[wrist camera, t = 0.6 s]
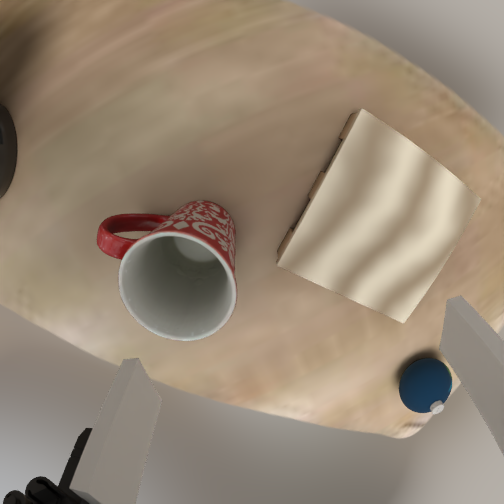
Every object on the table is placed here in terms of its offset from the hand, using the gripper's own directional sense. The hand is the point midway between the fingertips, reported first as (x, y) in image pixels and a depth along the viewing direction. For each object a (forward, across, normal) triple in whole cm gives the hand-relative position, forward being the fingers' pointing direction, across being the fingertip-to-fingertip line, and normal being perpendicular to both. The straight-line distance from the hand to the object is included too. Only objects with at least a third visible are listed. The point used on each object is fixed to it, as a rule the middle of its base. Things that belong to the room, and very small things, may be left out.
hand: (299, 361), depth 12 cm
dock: (+23, +12, -4) cm, 26 cm away
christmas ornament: (+23, +18, -29) cm, 41 cm away
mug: (+24, -9, 0) cm, 25 cm away
